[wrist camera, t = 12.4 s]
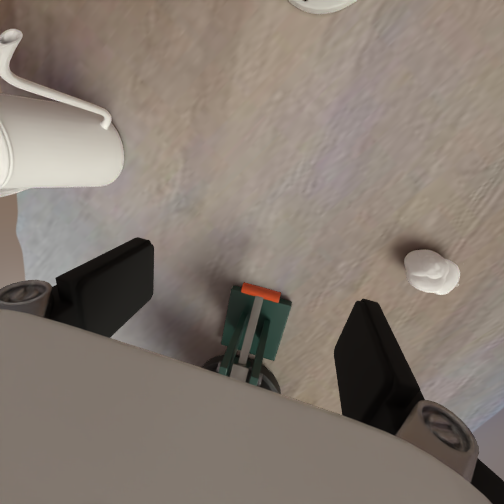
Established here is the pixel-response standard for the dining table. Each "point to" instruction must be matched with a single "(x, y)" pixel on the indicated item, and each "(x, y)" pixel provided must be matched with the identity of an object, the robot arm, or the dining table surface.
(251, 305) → the switch bracket
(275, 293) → the switch lever
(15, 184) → the coffeepot
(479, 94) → the dining table surface
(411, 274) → the dumpling
